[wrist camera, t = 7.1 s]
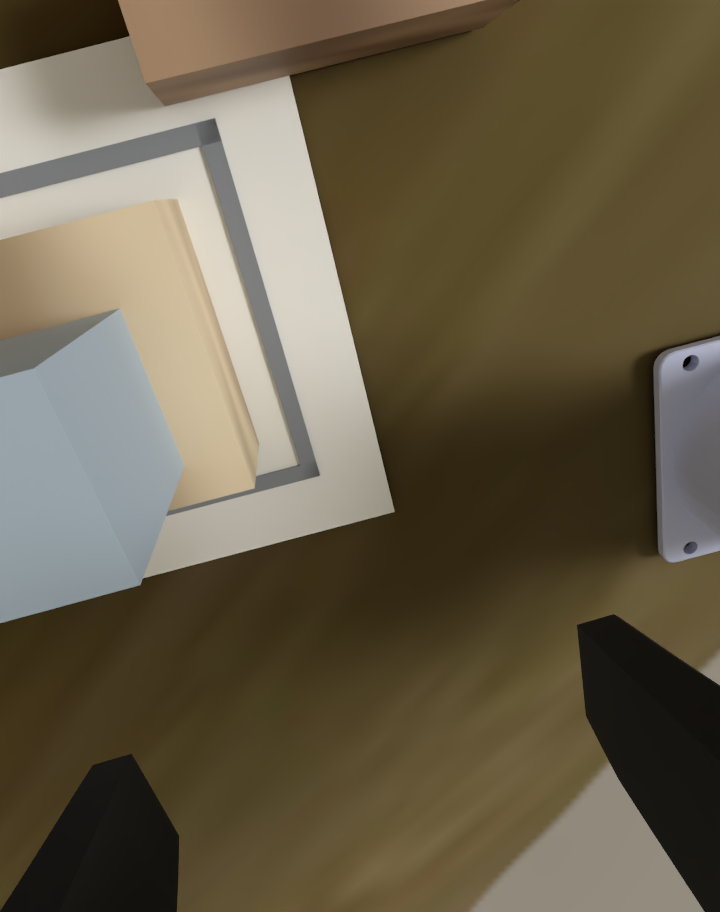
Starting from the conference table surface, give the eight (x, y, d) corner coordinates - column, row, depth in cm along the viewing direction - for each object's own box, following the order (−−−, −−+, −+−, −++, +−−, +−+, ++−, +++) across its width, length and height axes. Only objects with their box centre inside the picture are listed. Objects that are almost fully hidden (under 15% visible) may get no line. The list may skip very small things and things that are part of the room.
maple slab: (177, 198, 15) (153, 200, 13) (259, 443, 18) (254, 488, 15) (-91, 268, 15) (-174, 284, 12) (34, 502, 18) (-11, 557, 15)
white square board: (271, 4, 14) (270, -2, 14) (393, 507, 20) (394, 513, 20) (-311, 152, 14) (-327, 151, 14) (-18, 615, 20) (-23, 623, 19)
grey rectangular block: (120, 308, 13) (34, 368, 9) (184, 465, 15) (140, 585, 10) (-55, 355, 13) (-233, 440, 9) (29, 507, 15) (-84, 645, 10)
